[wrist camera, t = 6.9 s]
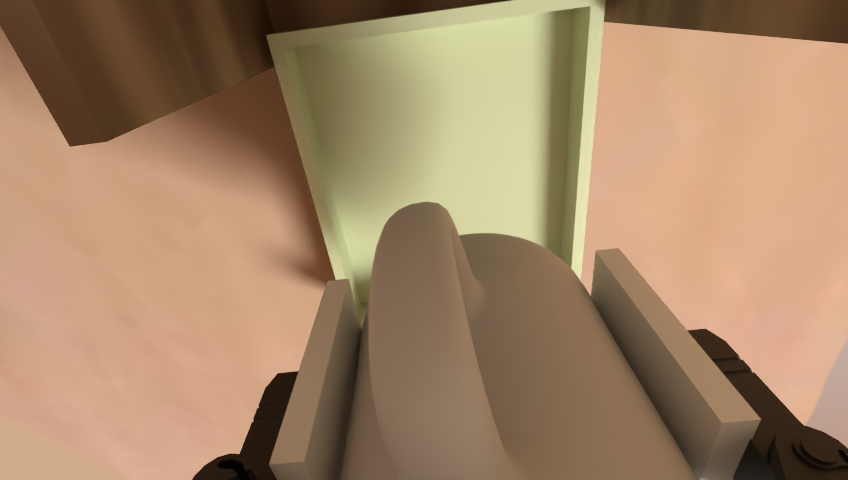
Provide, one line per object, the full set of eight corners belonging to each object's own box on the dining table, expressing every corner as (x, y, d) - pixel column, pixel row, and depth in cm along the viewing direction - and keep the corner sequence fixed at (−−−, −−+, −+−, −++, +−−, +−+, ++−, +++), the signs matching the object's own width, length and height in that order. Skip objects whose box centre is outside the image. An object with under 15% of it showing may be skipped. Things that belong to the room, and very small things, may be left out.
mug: (598, 371, 17) (826, 826, 8) (408, 416, 18) (402, 857, 9) (549, 89, 11) (1232, 514, 2) (278, 183, 13) (-140, 727, 3)
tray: (365, 339, 30) (356, 402, 25) (284, 31, 19) (243, 40, 15) (561, 318, 29) (589, 378, 24) (582, -11, 19) (637, -16, 14)
